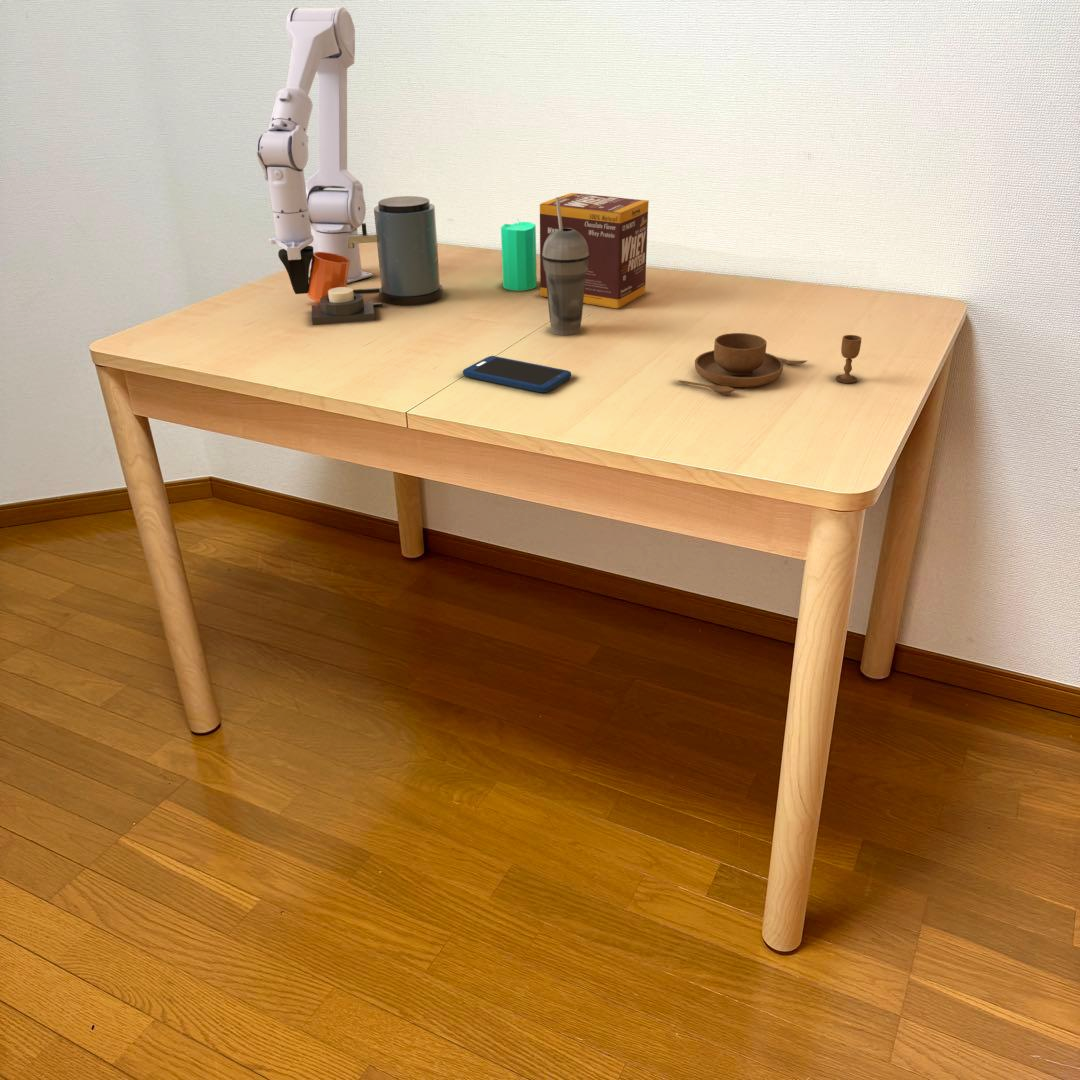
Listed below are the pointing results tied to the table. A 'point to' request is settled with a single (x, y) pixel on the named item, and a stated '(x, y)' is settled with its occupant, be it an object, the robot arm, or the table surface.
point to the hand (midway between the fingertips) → (301, 292)
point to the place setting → (755, 362)
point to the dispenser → (404, 251)
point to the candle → (519, 256)
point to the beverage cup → (565, 277)
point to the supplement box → (603, 244)
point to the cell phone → (517, 374)
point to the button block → (342, 311)
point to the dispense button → (341, 294)
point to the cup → (327, 274)
